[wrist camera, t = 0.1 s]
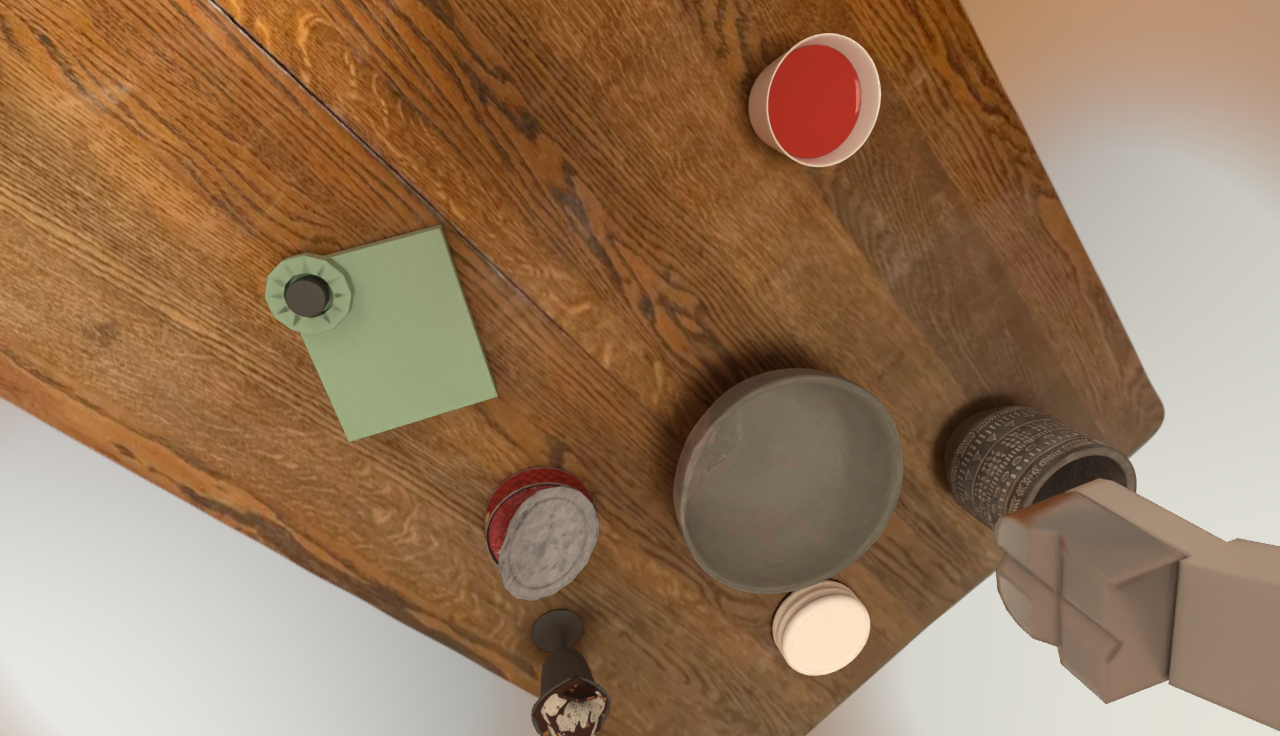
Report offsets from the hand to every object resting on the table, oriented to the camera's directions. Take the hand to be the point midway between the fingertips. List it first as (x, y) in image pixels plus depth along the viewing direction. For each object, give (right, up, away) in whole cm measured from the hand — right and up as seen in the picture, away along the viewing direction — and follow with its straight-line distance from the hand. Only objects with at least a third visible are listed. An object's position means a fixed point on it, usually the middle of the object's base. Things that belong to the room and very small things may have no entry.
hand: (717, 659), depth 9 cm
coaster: (+18, -23, +65) cm, 71 cm away
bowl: (+10, -3, +56) cm, 57 cm away
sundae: (-9, -22, +58) cm, 63 cm away
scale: (-20, +7, +45) cm, 50 cm away
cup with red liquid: (+11, +25, +46) cm, 54 cm away
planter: (+35, -4, +63) cm, 72 cm away
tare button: (-24, +9, +39) cm, 47 cm away
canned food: (-10, -10, +53) cm, 55 cm away
